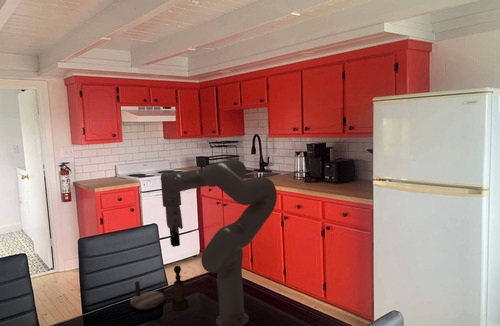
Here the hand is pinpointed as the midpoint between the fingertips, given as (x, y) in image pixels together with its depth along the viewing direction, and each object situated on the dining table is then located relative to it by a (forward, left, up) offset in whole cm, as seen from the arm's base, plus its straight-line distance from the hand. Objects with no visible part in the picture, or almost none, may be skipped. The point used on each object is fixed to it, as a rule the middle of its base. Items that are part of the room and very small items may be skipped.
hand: (175, 244), depth 162 cm
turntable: (+10, +12, -25) cm, 30 cm away
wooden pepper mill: (0, 0, -27) cm, 27 cm away
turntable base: (+10, +12, -27) cm, 31 cm away
